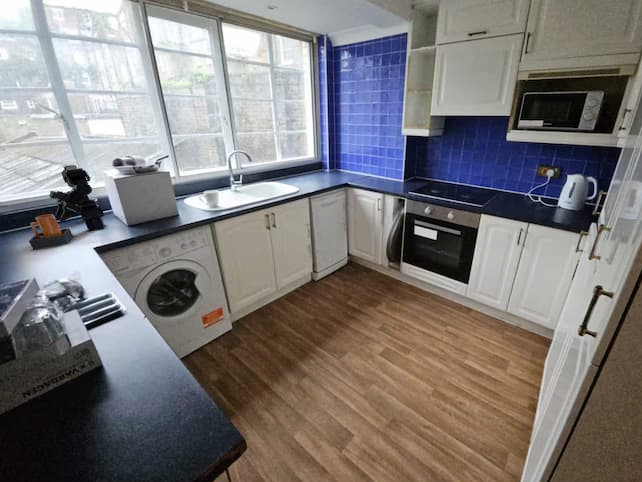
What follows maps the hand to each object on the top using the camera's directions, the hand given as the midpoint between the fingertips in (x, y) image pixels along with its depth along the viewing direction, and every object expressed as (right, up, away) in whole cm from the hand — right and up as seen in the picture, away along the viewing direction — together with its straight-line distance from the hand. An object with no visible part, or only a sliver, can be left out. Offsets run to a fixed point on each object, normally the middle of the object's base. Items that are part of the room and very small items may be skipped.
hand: (58, 219), depth 145 cm
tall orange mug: (-2, -11, -1) cm, 11 cm away
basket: (-2, -11, 0) cm, 12 cm away
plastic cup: (-12, +2, +32) cm, 34 cm away
